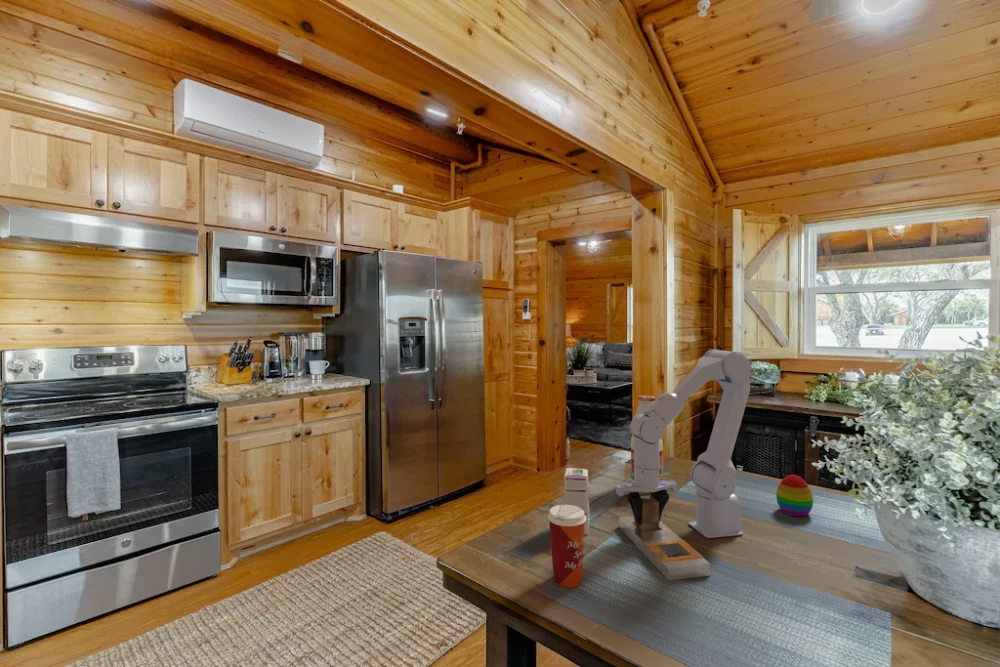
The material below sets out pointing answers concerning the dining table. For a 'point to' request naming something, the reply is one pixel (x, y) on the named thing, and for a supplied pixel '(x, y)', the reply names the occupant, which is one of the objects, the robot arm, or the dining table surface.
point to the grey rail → (666, 551)
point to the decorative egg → (794, 496)
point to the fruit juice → (644, 404)
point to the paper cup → (567, 544)
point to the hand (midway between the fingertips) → (647, 522)
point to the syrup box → (577, 491)
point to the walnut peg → (649, 515)
